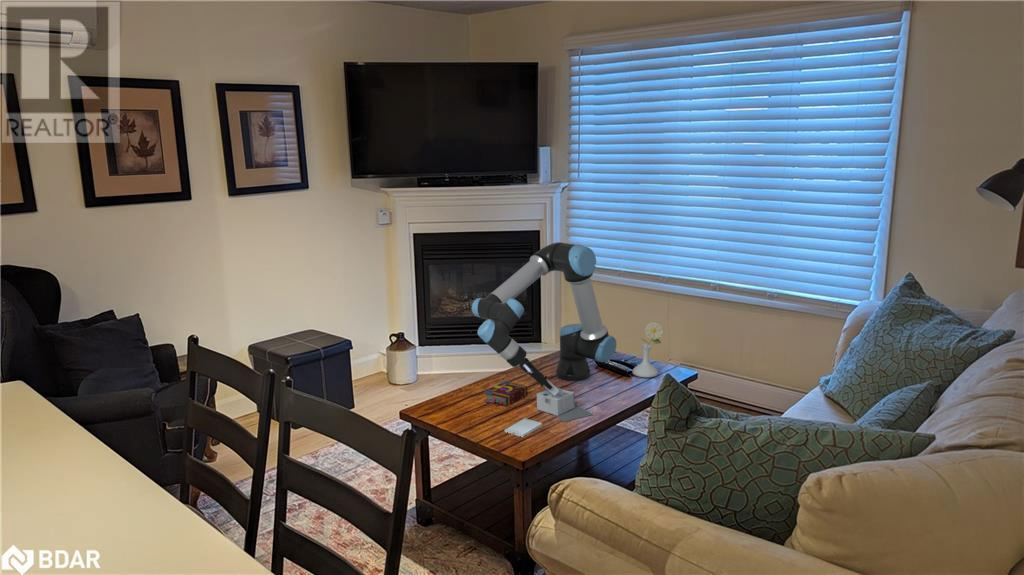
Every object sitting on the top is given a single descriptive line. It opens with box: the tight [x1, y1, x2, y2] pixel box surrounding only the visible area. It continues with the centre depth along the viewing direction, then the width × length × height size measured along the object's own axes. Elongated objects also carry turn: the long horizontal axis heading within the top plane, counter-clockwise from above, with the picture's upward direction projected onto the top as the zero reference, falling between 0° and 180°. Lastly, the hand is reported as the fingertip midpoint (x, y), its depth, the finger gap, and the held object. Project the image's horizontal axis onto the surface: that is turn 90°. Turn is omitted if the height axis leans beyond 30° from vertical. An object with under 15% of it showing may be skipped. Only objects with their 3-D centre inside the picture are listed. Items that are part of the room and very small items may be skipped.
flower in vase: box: [631, 321, 664, 379], centre depth 304 cm, size 13×11×25 cm
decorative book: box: [483, 380, 528, 407], centre depth 281 cm, size 11×16×5 cm
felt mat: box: [552, 403, 594, 423], centre depth 268 cm, size 13×16×1 cm
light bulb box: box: [536, 386, 575, 416], centre depth 269 cm, size 11×7×11 cm
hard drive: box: [504, 417, 543, 438], centre depth 252 cm, size 2×8×12 cm
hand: (556, 392), depth 261 cm, fingers closed
